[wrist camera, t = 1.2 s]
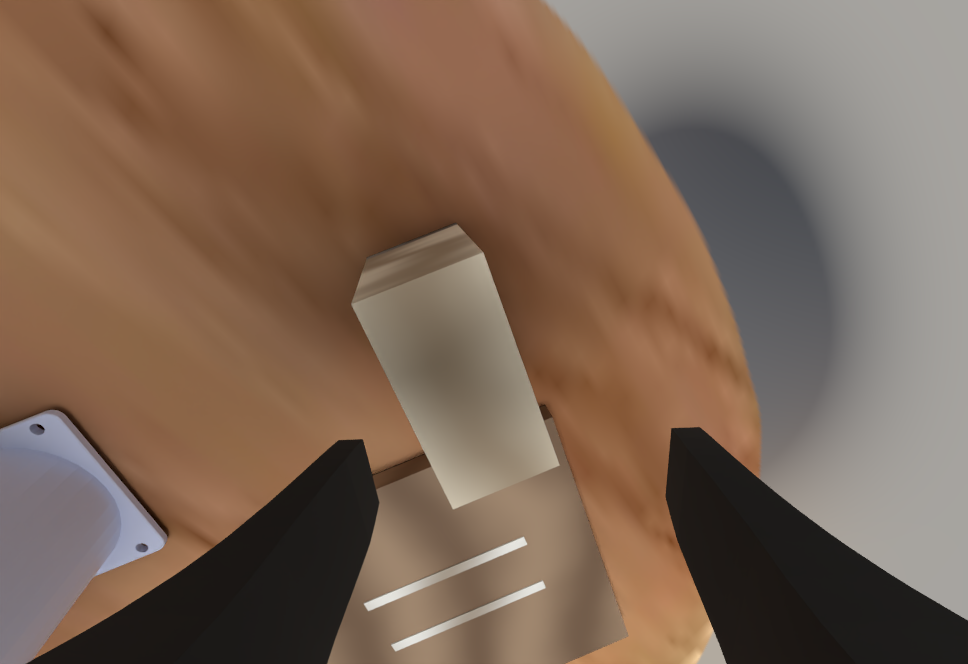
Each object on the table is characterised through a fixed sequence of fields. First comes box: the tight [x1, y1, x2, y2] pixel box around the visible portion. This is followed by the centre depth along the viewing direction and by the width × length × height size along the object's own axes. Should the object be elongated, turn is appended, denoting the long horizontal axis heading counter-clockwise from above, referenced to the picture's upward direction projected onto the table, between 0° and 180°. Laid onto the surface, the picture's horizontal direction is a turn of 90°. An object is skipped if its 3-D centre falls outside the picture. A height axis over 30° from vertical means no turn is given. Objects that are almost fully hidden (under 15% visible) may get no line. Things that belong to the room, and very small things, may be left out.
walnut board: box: [327, 405, 628, 664], centre depth 26 cm, size 16×17×1 cm
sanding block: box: [351, 223, 560, 509], centre depth 18 cm, size 4×8×7 cm, turn 20°
